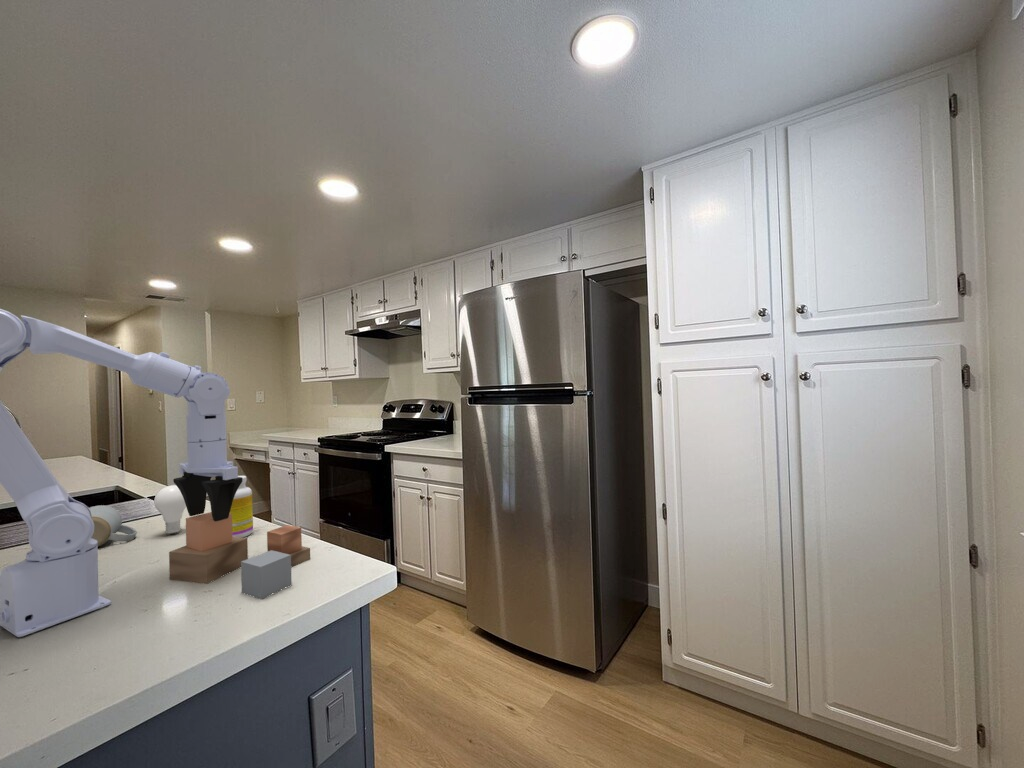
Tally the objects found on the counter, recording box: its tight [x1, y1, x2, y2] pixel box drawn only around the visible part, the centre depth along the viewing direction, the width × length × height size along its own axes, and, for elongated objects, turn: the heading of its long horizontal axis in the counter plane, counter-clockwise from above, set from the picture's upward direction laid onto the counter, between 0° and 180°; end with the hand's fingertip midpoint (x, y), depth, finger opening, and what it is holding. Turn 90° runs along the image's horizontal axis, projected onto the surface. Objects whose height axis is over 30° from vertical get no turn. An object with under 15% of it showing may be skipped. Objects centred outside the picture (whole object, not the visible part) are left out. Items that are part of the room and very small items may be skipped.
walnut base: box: [168, 537, 249, 585], centre depth 75 cm, size 8×8×5 cm
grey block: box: [240, 550, 293, 600], centre depth 68 cm, size 5×5×5 cm
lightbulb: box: [153, 484, 187, 535], centre depth 95 cm, size 6×6×11 cm
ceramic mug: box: [88, 504, 138, 547], centre depth 90 cm, size 11×8×8 cm
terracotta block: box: [185, 511, 233, 552], centre depth 75 cm, size 5×5×5 cm
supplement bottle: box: [230, 475, 254, 538], centre depth 93 cm, size 7×7×13 cm
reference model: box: [261, 524, 311, 567], centre depth 78 cm, size 6×6×6 cm
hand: (208, 517), depth 75 cm, fingers open, 7 cm apart
